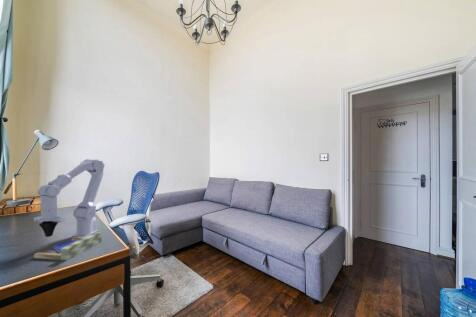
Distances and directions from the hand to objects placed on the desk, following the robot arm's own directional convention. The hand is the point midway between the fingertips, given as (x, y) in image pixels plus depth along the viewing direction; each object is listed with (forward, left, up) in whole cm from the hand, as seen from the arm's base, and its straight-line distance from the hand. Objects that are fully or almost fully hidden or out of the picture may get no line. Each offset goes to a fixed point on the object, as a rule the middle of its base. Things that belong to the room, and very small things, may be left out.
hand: (49, 236), depth 96 cm
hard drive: (-1, +9, -7) cm, 12 cm away
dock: (0, +12, -6) cm, 13 cm away
